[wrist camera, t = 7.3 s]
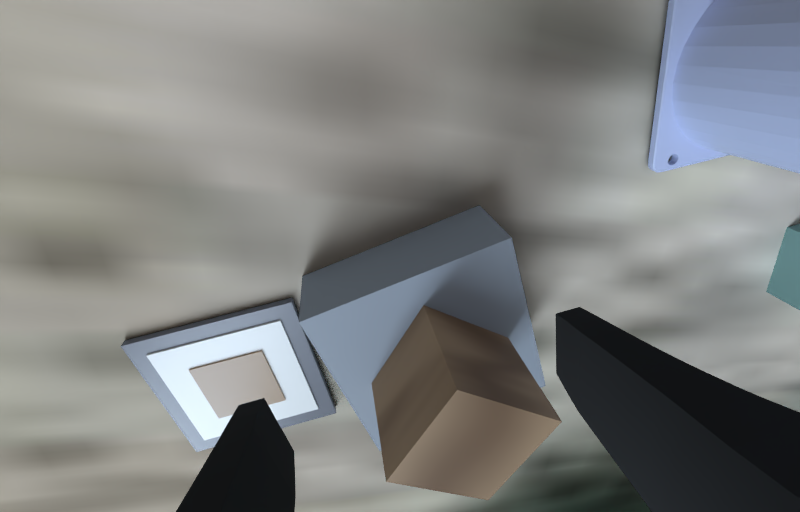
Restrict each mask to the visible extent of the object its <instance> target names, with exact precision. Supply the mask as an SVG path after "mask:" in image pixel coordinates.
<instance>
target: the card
mask: <svg viewBox="0 0 800 512" xmlns="http://www.w3.org/2000/svg"><path fill="white" fill-rule="evenodd" d="M121 347H122V349H123V350H124V351H125V353H126V354H127V356H128V357H129V358H130V360H131V361H132V363H133V364H134V365H135V367H136V368H137V370H138V371H139V372H140V374H141V375H142V377H143V378H144V379H145V381H146V382H147V383H148V385H149V386H150V388H151V389H152V390H153V392H154V393H155V395H156V396H157V397H158V399H159V400H160V402H161V403H162V404H163V406H164V407H165V409H166V410H167V411H168V413H169V414H170V415H171V417H172V418H173V420H174V421H175V422H176V424H177V425H178V427H179V428H180V429H181V431H182V432H183V434H184V435H185V436H186V438H187V439H188V441H189V442H190V443H191V445H192V446H193V448H194V449H195V450H196V452H198V451H201V450H205V449H208V448H212V447H215V445H216V443H217V441H218V440H219V438H220V436H221V434H222V432H223V431H224V429H225V427H226V426H227V424H228V422H229V420H230V419H231V417H232V415H233V414H234V412H235V410H236V409H237V407H238V405H241V404H244V403H248V402H251V401H255V400H258V399H262V398H265V400H266V402H267V404H268V406H269V407H270V409H271V411H272V413H273V414H274V416H275V418H276V420H277V422H278V423H279V425H280V427H281V428H284V427H288V426H291V425H295V424H299V423H302V422H306V421H309V420H313V419H317V418H320V417H324V416H327V415H331V414H335V413H336V407H335V404H334V402H333V399H332V397H331V394H330V392H329V389H328V387H327V384H326V382H325V379H324V376H323V374H322V371H321V369H320V366H319V364H318V361H317V359H316V356H315V354H314V351H313V349H312V346H311V344H310V341H309V339H308V336H307V335H306V333H305V332H304V330H303V328H302V327H301V325H300V324H299V314H298V311H297V309H296V306H295V304H294V301H293V299H292V298H289V299H285V300H281V301H277V302H273V303H269V304H265V305H261V306H258V307H254V308H250V309H246V310H242V311H238V312H234V313H230V314H226V315H222V316H219V317H215V318H211V319H207V320H203V321H199V322H195V323H191V324H187V325H184V326H180V327H176V328H172V329H168V330H164V331H160V332H156V333H152V334H148V335H145V336H141V337H137V338H133V339H129V340H125V341H124V342H123V344H122V345H121Z"/></svg>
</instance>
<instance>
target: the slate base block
mask: <svg viewBox="0 0 800 512" xmlns="http://www.w3.org/2000/svg"><path fill="white" fill-rule="evenodd" d="M423 305H425V306H427V307H430V308H432V309H435V310H438V311H440V312H443V313H445V314H448V315H451V316H453V317H456V318H458V319H461V320H464V321H466V322H469V323H471V324H474V325H476V326H479V327H482V328H484V329H487V330H489V331H492V332H495V333H497V334H500V335H502V336H505V337H508V338H509V340H510V341H511V343H512V345H513V346H514V348H515V349H516V351H517V352H518V354H519V356H520V357H521V359H522V360H523V362H524V363H525V365H526V366H527V368H528V370H529V371H530V373H531V374H532V376H533V377H534V379H535V380H536V382H537V384H538V385H539V387H540V388H541V387H543V386H545V381H544V377H543V372H542V368H541V364H540V359H539V355H538V351H537V346H536V342H535V337H534V333H533V329H532V324H531V320H530V316H529V311H528V307H527V302H526V298H525V294H524V289H523V285H522V281H521V276H520V272H519V267H518V263H517V259H516V254H515V250H514V246H513V241H512V237H511V236H510V235H509V234H508V233H507V232H506V231H505V230H504V229H503V228H502V227H501V226H500V225H499V224H498V223H497V222H496V221H495V220H494V219H493V218H492V217H491V216H490V215H489V214H488V213H487V212H486V211H485V210H484V209H483V208H482V207H481V206H480V205H479V206H476V207H474V208H471V209H469V210H466V211H464V212H461V213H459V214H456V215H454V216H451V217H449V218H446V219H444V220H441V221H439V222H436V223H434V224H431V225H429V226H426V227H424V228H421V229H419V230H416V231H414V232H411V233H409V234H406V235H404V236H401V237H399V238H396V239H394V240H391V241H389V242H386V243H384V244H381V245H379V246H376V247H374V248H371V249H369V250H366V251H364V252H362V253H359V254H357V255H354V256H352V257H349V258H347V259H344V260H342V261H339V262H337V263H334V264H332V265H329V266H327V267H324V268H322V269H319V270H317V271H314V272H312V273H309V274H307V275H304V276H302V289H301V301H300V313H299V324H300V325H301V327H302V328H303V330H304V332H305V333H306V335H307V336H308V338H309V340H310V341H311V343H312V344H313V346H314V347H315V349H316V351H317V352H318V354H319V355H320V357H321V359H322V360H323V362H324V363H325V365H326V367H327V368H328V370H329V371H330V373H331V374H332V376H333V378H334V379H335V381H336V382H337V384H338V386H339V387H340V389H341V390H342V392H343V394H344V395H345V397H346V398H347V400H348V401H349V403H350V405H351V406H352V408H353V409H354V411H355V413H356V414H357V416H358V417H359V419H360V421H361V422H362V424H363V425H364V427H365V428H366V430H367V432H368V433H369V435H370V436H371V438H372V440H373V441H374V443H375V444H376V446H377V447H378V449H379V451H380V450H381V444H380V437H379V430H378V424H377V417H376V410H375V404H374V397H373V391H372V384H371V383H372V382H373V380H374V379H375V377H376V376H377V374H378V373H379V371H380V370H381V368H382V367H383V365H384V364H385V362H386V361H387V359H388V358H389V356H390V355H391V353H392V352H393V350H394V349H395V347H396V346H397V344H398V343H399V341H400V340H401V338H402V337H403V335H404V334H405V332H406V331H407V329H408V328H409V326H410V325H411V323H412V322H413V320H414V319H415V317H416V316H417V314H418V313H419V311H420V310H421V308H422V307H423Z"/></svg>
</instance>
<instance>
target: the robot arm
mask: <svg viewBox="0 0 800 512" xmlns="http://www.w3.org/2000/svg"><path fill="white" fill-rule="evenodd" d="M671 155H672V158H671V160H670V161H669V162H668V160H669V158H670V156H671ZM727 155H733V156H737V157H740V158H744V159H748V160H751V161H755V162H759V163H763V164H766V165H770V166H774V167H777V168H781V169H785V170H789V171H792V172H796V173H800V0H669V3H668V11H667V19H666V27H665V34H664V42H663V50H662V58H661V66H660V74H659V81H658V89H657V97H656V105H655V113H654V120H653V128H652V136H651V144H650V152H649V159H648V167H649V168H650V169H651V170H653V171H655V172H663V171H667V170H671V169H675V168H679V167H683V166H687V165H691V164H695V163H699V162H703V161H707V160H711V159H715V158H719V157H723V156H727ZM556 371H557V375H558V377H559V379H560V380H561V382H562V384H563V386H564V388H565V389H566V391H567V393H568V395H569V396H570V398H571V400H572V401H573V403H574V405H575V407H576V408H577V410H578V412H579V413H580V414H581V416H582V417H583V418H584V420H585V421H586V423H587V424H588V425H589V427H590V428H591V429H592V431H593V432H594V434H595V435H596V436H597V438H598V439H599V440H600V442H601V443H602V444H603V446H604V447H605V449H606V450H607V451H608V453H609V454H610V455H611V457H612V458H613V459H614V461H615V462H616V463H617V465H618V466H619V467H620V469H621V470H622V471H623V473H624V474H625V475H626V477H627V478H628V480H629V481H630V482H631V484H632V485H633V486H634V488H635V489H636V490H637V492H638V493H639V494H640V496H641V497H642V498H643V500H644V501H645V503H646V504H647V506H648V507H649V509H650V510H651V511H652V512H800V413H799V412H797V411H794V410H792V409H789V408H787V407H784V406H782V405H779V404H777V403H774V402H772V401H769V400H767V399H764V398H762V397H759V396H757V395H755V394H752V393H750V392H748V391H745V390H743V389H741V388H739V387H736V386H734V385H732V384H730V383H728V382H725V381H723V380H721V379H719V378H717V377H715V376H712V375H710V374H708V373H706V372H704V371H702V370H699V369H697V368H695V367H693V366H691V365H689V364H687V363H685V362H683V361H681V360H679V359H677V358H675V357H673V356H671V355H669V354H667V353H665V352H663V351H661V350H659V349H657V348H655V347H653V346H651V345H650V344H648V343H646V342H644V341H642V340H640V339H638V338H636V337H634V336H633V335H631V334H629V333H627V332H625V331H623V330H621V329H620V328H618V327H616V326H614V325H612V324H610V323H609V322H607V321H605V320H603V319H601V318H599V317H597V316H596V315H594V314H592V313H590V312H588V311H586V310H584V309H582V308H580V307H578V308H574V309H571V310H567V311H564V312H560V313H557V314H556ZM294 509H295V466H294V450H293V449H292V447H291V445H290V443H289V441H288V440H287V438H286V436H285V434H284V432H283V431H282V429H281V427H280V425H279V423H278V422H277V420H276V418H275V416H274V414H273V413H272V411H271V409H270V407H269V406H268V404H267V402H266V400H265V398H262V399H258V400H255V401H251V402H248V403H244V404H241V405H238V407H237V409H236V410H235V412H234V414H233V415H232V417H231V419H230V420H229V422H228V424H227V426H226V427H225V429H224V431H223V432H222V434H221V436H220V438H219V440H218V441H217V443H216V445H215V447H214V448H213V450H212V452H211V453H210V455H209V457H208V459H207V460H206V462H205V464H204V466H203V467H202V469H201V471H200V472H199V474H198V476H197V477H196V479H195V481H194V482H193V484H192V486H191V487H190V489H189V491H188V492H187V494H186V496H185V497H184V499H183V501H182V503H181V504H180V506H179V507H178V509H177V511H176V512H294Z"/></svg>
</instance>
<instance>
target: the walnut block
mask: <svg viewBox="0 0 800 512" xmlns="http://www.w3.org/2000/svg"><path fill="white" fill-rule="evenodd" d="M371 384H372V391H373V397H374V404H375V410H376V417H377V424H378V430H379V437H380V444H381V450H382V457H383V463H384V470H385V477H386V482H391V483H396V484H402V485H407V486H413V487H418V488H424V489H429V490H435V491H440V492H446V493H451V494H457V495H462V496H468V497H473V498H479V499H484V500H489V499H490V498H491V497H492V496H493V495H494V494H495V493H496V491H497V490H498V489H499V488H500V487H501V486H502V485H503V484H504V483H505V482H506V481H507V480H508V479H509V478H510V476H511V475H512V474H513V473H514V472H515V471H516V470H517V469H518V468H519V467H520V466H521V465H522V464H523V463H524V462H525V460H526V459H527V458H528V457H529V456H530V455H531V454H532V453H533V452H534V451H535V450H536V449H537V448H538V447H539V445H540V444H541V443H542V442H543V441H544V440H545V439H546V438H547V437H548V436H549V435H550V434H551V433H552V432H553V431H554V429H555V428H556V427H557V426H558V425H559V424H560V423H561V422H562V421H561V420H560V418H559V416H558V415H557V413H556V412H555V410H554V409H553V407H552V405H551V404H550V402H549V401H548V399H547V398H546V396H545V395H544V393H543V391H542V390H541V388H540V387H539V385H538V384H537V382H536V380H535V379H534V377H533V376H532V374H531V373H530V371H529V370H528V368H527V366H526V365H525V363H524V362H523V360H522V359H521V357H520V356H519V354H518V352H517V351H516V349H515V348H514V346H513V345H512V343H511V341H510V340H509V338H508V337H505V336H502V335H500V334H497V333H495V332H492V331H489V330H487V329H484V328H482V327H479V326H476V325H474V324H471V323H469V322H466V321H464V320H461V319H458V318H456V317H453V316H451V315H448V314H445V313H443V312H440V311H438V310H435V309H432V308H430V307H427V306H425V305H423V307H422V308H421V310H420V311H419V313H418V314H417V316H416V317H415V319H414V320H413V322H412V323H411V325H410V326H409V328H408V329H407V331H406V332H405V334H404V335H403V337H402V338H401V340H400V341H399V343H398V344H397V346H396V347H395V349H394V350H393V352H392V353H391V355H390V356H389V358H388V359H387V361H386V362H385V364H384V365H383V367H382V368H381V370H380V371H379V373H378V374H377V376H376V377H375V379H374V380H373V382H372V383H371Z"/></svg>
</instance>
